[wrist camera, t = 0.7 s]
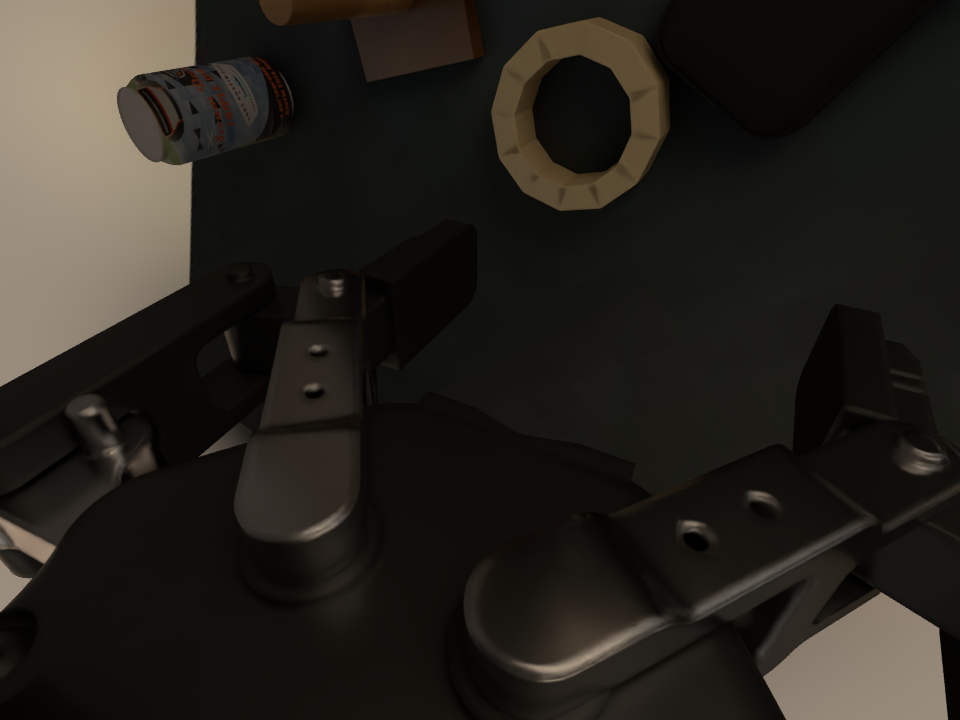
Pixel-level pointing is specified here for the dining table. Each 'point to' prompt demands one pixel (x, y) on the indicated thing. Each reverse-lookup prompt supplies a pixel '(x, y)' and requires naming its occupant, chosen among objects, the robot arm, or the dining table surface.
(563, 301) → the dining table surface
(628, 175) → the tape roll
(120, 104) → the beverage can
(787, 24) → the carrying case
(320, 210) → the dining table surface
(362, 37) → the peg stand
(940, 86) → the dining table surface
